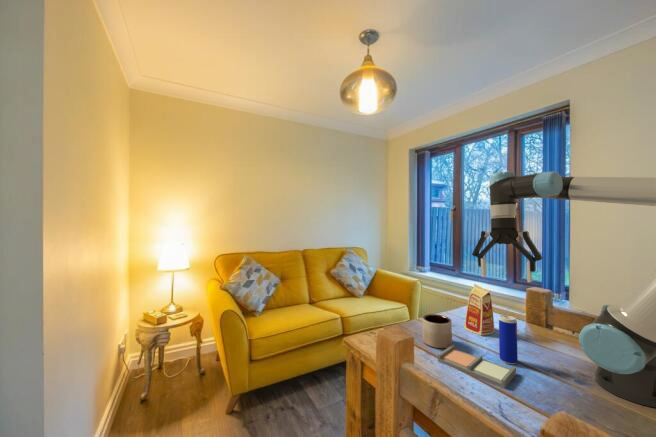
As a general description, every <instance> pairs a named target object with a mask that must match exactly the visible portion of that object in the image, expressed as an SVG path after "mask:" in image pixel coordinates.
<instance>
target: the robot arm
mask: <svg viewBox="0 0 656 437" xmlns="http://www.w3.org/2000/svg"><path fill="white" fill-rule="evenodd" d="M488 188H489V200H490V201H489V202H490V204H489V205H490V206H489V209H490V217H491V219H490V231H486V230H482V231H481V232H480V238H479V240H478V242H477V243H476V246H475V247H474V249H473V252H472V253H471V255H472V257H476V258H477V267H479V268H480V272H481V273H480V276H481V277H483V278H484V277H486V276H487V258H486V257H485V255H486V254H487V253H488V252H489V251H490V250H491V249H492V248H493V247H494V246H495V245H512V246H514V247H515V248H516V249H517V250H518V251H519V252H520V253H521V254H522V255H523V256H524V257H525V258H526V259H527V260H528V261H526V282H527V283H532V282H533V272H536V270H537V268H536V262H538V261H541V260H542V259H543V255H541V253H540V252H539V250H538V249H537V247H536V245H535V243H534V242H533V241H532V239H531V237H530V232H529V231H528V230H525V231H518V228H517V226H518V222H517V217H515V216H517V200H520V199H535V198H537V199H551V200H564V201H565V200H566V201H581V202H582V201H583V202H593V203H595V202H597V203H606V204H607V203H610V204H623V205H635V206H648V207H649V206H650V207H651V206H652V207H656V177H630V176H629V177H625V176H623V177H619V176H615V177H614V176H561V174H560V173H559V171H555V170H553V171H552V170H551V171H542V172H537V173H531V174H530V173H529V174H525V175H519V176H517V175H516V174H515V172H513V171H500V172H499V171H498V172H494V173H492V174H491V175H490V176H489V185H488ZM519 236H520V238H521V239H523V241H524V242H525V244H526V246H528V248H529V250H530V251H531V253H532V254H533V255H532V254H531V253H530V252H529V251H528V250H527V249H526V248H525V247H524V246H523V245H522V244H521V243H520V242H519V240H517V239H518V237H519ZM488 237H491V240H490V241H489V243H488V244H487V245H486V246H485V247H484V248H483V246H484V243H485V242H486V240H487V238H488ZM482 248H483V250H482ZM578 343H579V345H580V348H581V350H582V352H583V353H584V354H585V355H586V357H587V358H588V359H589V360H591V361H592V362H593V363H594V365H596V368H595V370H594V381H595V382H596V384H598V386H599V387H600V388H602V389H604V390H606V391H607V392H609V393H611V394H613V395H615V396H616V397H619V398H621V399H624V400H627V401H629V402H632V403H636V404H639V405H642V406H646V407H652V408H656V270H654V272H653V273H651V274H650V275H649V277H648V278H647V279H645V280H644V281H643V283H641V285H640V286H639V287H638V288H636V290H635V291H633V292H632V293H631V294H630V296H628V297H627V298H626V300H624V301H623V302H622V304H619V305H615V304H604V305H602V307H601V311H600V314H599V315H598V316H597V317H596V318H595V319H594V320H593V321H591V323H589V324H588V325H585V326H583V327H582V329H581V331H580V333H579V335H578Z"/></svg>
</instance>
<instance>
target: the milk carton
mask: <svg viewBox="0 0 656 437" xmlns="http://www.w3.org/2000/svg"><path fill="white" fill-rule="evenodd" d="M473 285H474V287H473V288H472V289H471V290H470V291H469V292H470V293H469V296H468V300H467V306H466V312H465V317H464V326H463V329H464V330H466V331H468V332H471V333H472V334H473V333H474V334H476V335H479V336H487V335H492V334H493V333H494V332H495V320H494V312H493V311H494V308H493V303H492V295H491V290H489V289H486V288H483V287H482V286H480V285H478V284H476V283H473Z"/></svg>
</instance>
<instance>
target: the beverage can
mask: <svg viewBox="0 0 656 437" xmlns="http://www.w3.org/2000/svg"><path fill="white" fill-rule="evenodd" d="M498 339H499V340H498V346H499V347H498V350H499V353H498V354H499V359H500V361H501V362H503V363H504V364H507V365H512V366H514V365H516V364H517V363H518V321H517V319H516V317H514V316H512V315H505V314H502V315H499V317H498Z"/></svg>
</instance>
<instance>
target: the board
mask: <svg viewBox="0 0 656 437" xmlns="http://www.w3.org/2000/svg"><path fill="white" fill-rule="evenodd" d="M437 362H438V363H442V364H444V365H446V366H449V367H452V368H454V369H456V370H458V371H461V372H462V373H466V374H467V375H470V376H473V377H475V378H478V379H480V380H483V381H484V382H485V381H486V382H487V383H490V384H492V385H495V386H498V387H500V388H502V389H505V388H506V387H508V385H509V384H510V382H511V381H512V380H513V378H515V376H517V366H514V365H512V366H511V368H510V367H506V366H503V365H501V364H499V363H497V362H496V363H495V362H492V361H490V360H488V359H487V360H486V359H484V358H483V355H480V354H479V355H478V356H475V355H473V354H470V353H467V352H464V351H462V350H459V349H456V347H455V345H454V344H452V345H451V346H450V347H448V348H445V349H443V351H441V352H440V353H438V354H437Z"/></svg>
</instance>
